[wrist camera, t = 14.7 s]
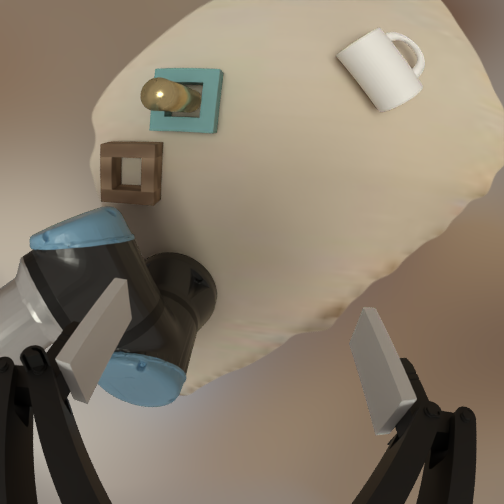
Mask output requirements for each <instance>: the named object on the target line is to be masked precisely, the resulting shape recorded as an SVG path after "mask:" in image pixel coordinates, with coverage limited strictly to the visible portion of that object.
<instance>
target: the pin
mask: <svg viewBox="0 0 504 504" xmlns="http://www.w3.org/2000/svg"><path fill="white" fill-rule="evenodd" d="M141 101H142V103H143V105H144V106H145V107H146V108H147V109H149V110H152V111H171V112H188V113H189V112H193V111H195V110H197V109H198V108H199V106H200V105H201V96H200V94H199V93H198V92H197V91H196V90H193V89H191V88H189V87H186V86H183V85H181V84H178V83H176V82H173V81H170V80H168V79H165V78H161V77H157V78H153V79H151V80H149V81H148V82H147V83H146V84H145V85H144V86H143V88H142V91H141Z"/></svg>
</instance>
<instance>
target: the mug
mask: <svg viewBox="0 0 504 504" xmlns="http://www.w3.org/2000/svg"><path fill="white" fill-rule="evenodd" d="M395 40H401V41H403V42H405V43H406V44H407V45H408V46H409V47H410V48H411V49H412V50H413V51H414V53H415V54H416V57H417V63H416V65H415V66H414V67H413V68H411V67H410V66H409V64H408V63H407V61H406V60H405V59H404V57H403V56H402V54H401V53H400V52H399V50H398V49H397V48H396V46H395V45H394V44H393V43H392V41H395ZM336 57H337V58H338V59H339V60H340V61H341V63H342V64H343V65H344V66H345V67H346V69H347V70H348V71H349V72H350V73H351V75H352V76H353V77H354V78H355V80H356V81H357V82H358V84H359V85H360V86H361V87H362V89H363V90H364V91H365V93H366V94H367V95H368V97H369V98H370V100H371V101H372V102H373V104H374V105H375V107H376V108H377V109H378V111H380V112H385V111H389V110H391V109H394V108H396V107H398V106H400V105H402V104H404V103H405V102H407V101H409V100H410V99H412V98H413V97H414V96H416V95H417V94H418V93H419V92H420V91H421V90H422V88H423V85H422V83H421V82H420V80H419V79H418V77H419V76H420V75H421V74H422V72H423V70H424V67H425V60H424V56H423V53H422V51H421V50H420V48H419V47H418V46H417V44H416V43H415V42H413V41H412V40H411V39H410V38H408V37H407V36H405V35H403V34H400V33H397V32H387V33H384V31H383V30H382V29H381V28H377V29H375V30H373V31H371V32H369V33H368V34H366V35H364V36H363V37H361V38H360V39H358V40H356V41H355V42H353V43H352V44H350V45H349V46H347V47H346V48H345V49H343V50H342V51H340V52H339V53H338V54H337V55H336Z"/></svg>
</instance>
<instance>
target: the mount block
mask: <svg viewBox="0 0 504 504" xmlns="http://www.w3.org/2000/svg"><path fill="white" fill-rule="evenodd" d="M162 153H163V142H107V143H103V144H101V148H100V179H101V202H114V203H127V204H139V205H151V206H154V205H155V204H156V203H157V202H158V201H159V200H161V174H162ZM121 157H126V158H142V163H141V186H140V185H123V184H121Z"/></svg>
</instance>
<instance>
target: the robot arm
mask: <svg viewBox="0 0 504 504" xmlns="http://www.w3.org/2000/svg"><path fill="white" fill-rule="evenodd" d="M134 239H135V237H134V235H133V234H131V232H130V230H129V228H128V226H127V224H126V222H125V220H124V218H123V216H122V214H121V213H120V212H119V211H118V210H117V209H116V208H114V207H110V206H105V207H101V208H97V209H94V210H91V211H88V212H85V213H82V214H80V215H77V216H75V217H72V218H69V219H67V220H64V221H62V222H60V223H57V224H55V225H53V226H50V227H48V228H46V229H44V230H42V231H40V232H38V233H36V234H34V235H32V236H31V237H30V247H31V249H33V250H32V251H31V252H29V253H28V254H26V255H25V256H23V257H22V258H21V259H20V263H19V268H18V272H17V275H16V277H15V278H14V279H13V280H12V281H10V282H9V283H7V284H6V285H5V286H3V287H2V288H1V289H0V504H38V502H37V495H36V486H35V475H34V457H33V414H34V418H35V422H36V426H37V431H38V435H39V439H40V442H41V446H42V449H43V453H44V456H45V459H46V462H47V466H48V468H49V472H50V474H51V477H52V480H53V483H54V485H55V488H56V490H57V493H58V496H59V498H60V501H61V503H62V504H112V503H111V501H110V499H109V497H108V495H107V493H106V491H105V489H104V488H103V486H102V483H101V481H100V480H99V477H98V475H97V473H96V471H95V469H94V466H93V464H92V462H91V460H90V458H89V455H88V453H87V451H86V448H85V446H84V443H83V441H82V438H81V435H80V432H79V430H78V427H77V425H76V421H75V419H74V416H73V413H72V409H71V406H70V404H69V400H68V399H67V397H68V395H69V393H70V392H71V394H72V396H73V398H74V399H75V400H78V401H81V402H84V403H86V404H88V402H89V400H90V398H91V396H92V394H93V392H94V389H95V388H96V386H97V384H99V385H100V386H101V387H102V388H103V389H104V390H105V391H106V392H108V393H109V394H111V395H113V396H114V397H116V398H118V399H120V400H122V401H125V402H128V403H131V404H134V405H139V406H145V407H160V406H165V405H167V404H169V403H172V402H173V401H174V400H175V399H176V398H177V397H178V396H179V394H180V392H181V389H182V386H183V384H184V382H185V381H186V373H187V369H188V365H189V361H190V357H191V353H192V349H193V346H194V342H195V338H196V334H197V332H198V330H199V329H200V328H201V327H202V326H203V325H204V324H205V323H206V322H207V321H208V320H209V318H210V317H211V315H212V313H213V311H214V308H215V303H216V298H217V291H216V286H215V283H214V281H213V279H212V277H211V275H210V274H209V272H208V271H207V270H206V269H205V268H204V267H203V266H202V265H201V264H200V263H198V262H197V261H195V260H194V259H192V258H190V257H188V256H185V255H182V254H178V253H161V254H157V255H154V256H152V257H150V258H149V259H147V260H146V261H145V262H144V260H143V257H142V255H141V253H140V251H139V249H138V247H137V245H136V242H135V240H134ZM51 344H53V345H52V346H51V348H50V349H49V350H48V352H47V353H46V352H45V349H46V348H47V347H48V346H50V345H51ZM349 345H350V348H351V351H352V354H353V357H354V361H355V364H356V367H357V370H358V373H359V377H360V381H361V384H362V387H363V390H364V394H365V398H366V401H367V405H368V409H369V412H370V416H371V419H372V423H373V427H374V431H375V435H381V434H389V433H390V432H391V431H392V430H393V429H394V428H395V427H396V431H397V434H396V435H395V436H394V437H393V438H392V439H391V440H390V442H389V443H388V445H389V447H388V449H387V450H386V452H385V454H384V455H383V457H382V459H381V461H380V462H379V464H378V465H377V467H376V468H375V470H374V472H373V473H372V475H371V476H370V478H369V480H368V481H367V483H366V484H365V485H364V487H363V488H362V490H361V491H360V493H359V494H358V495H357V497H356V498H355V500H354V501H353V502H352V504H404V503H405V501H406V499H407V498H408V496H409V494H410V492H411V490H412V488H413V486H414V484H415V482H416V480H417V478H418V476H419V474H420V471H421V469H422V467H423V465H424V463H425V465H424V470H423V476H422V481H421V486H420V490H419V495H418V499H417V503H416V504H473V495H474V486H475V472H476V417H475V414H474V413H473V411H472V410H471V409H470V408H467V407H459V408H458V409H457V410H456V411H455V412H454V413H452V412H445V411H441V409H440V407H439V406H438V405H437V404H436V403H434V402H431V401H429V400H428V397H427V395H426V393H425V391H424V388H423V386H422V384H421V382H420V380H419V377H418V375H417V374H416V371H415V369H414V367H413V365H412V364H411V363H410V362H409V361H408V359H407V358H399V356H398V354H397V352H396V350H395V347H394V345H393V343H392V341H391V339H390V337H389V335H388V333H387V331H386V329H385V327H384V325H383V323H382V321H381V319H380V316H379V314H378V313H377V310H376V308H369V307H363V310H362V312H361V315H360V317H359V320H358V323H357V325H356V328H355V330H354V333H353V335H352V338H351V340H350V343H349Z"/></svg>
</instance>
